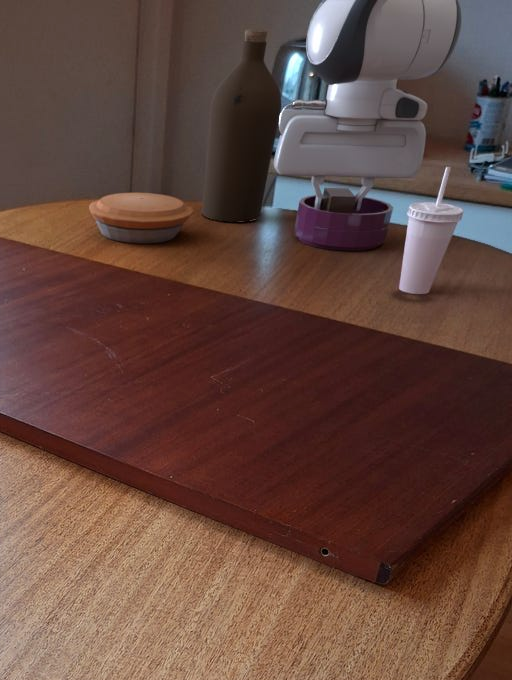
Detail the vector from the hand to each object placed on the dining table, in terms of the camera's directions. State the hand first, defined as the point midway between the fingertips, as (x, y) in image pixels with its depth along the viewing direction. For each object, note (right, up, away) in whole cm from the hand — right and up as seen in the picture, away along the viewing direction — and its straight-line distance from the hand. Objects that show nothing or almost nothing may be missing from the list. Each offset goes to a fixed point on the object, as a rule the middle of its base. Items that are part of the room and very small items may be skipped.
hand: (336, 210), depth 129 cm
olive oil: (-13, +6, +14) cm, 20 cm away
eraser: (0, -1, +1) cm, 2 cm away
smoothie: (+4, -19, -16) cm, 25 cm away
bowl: (+1, -3, +3) cm, 4 cm away
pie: (-29, -2, +4) cm, 29 cm away
